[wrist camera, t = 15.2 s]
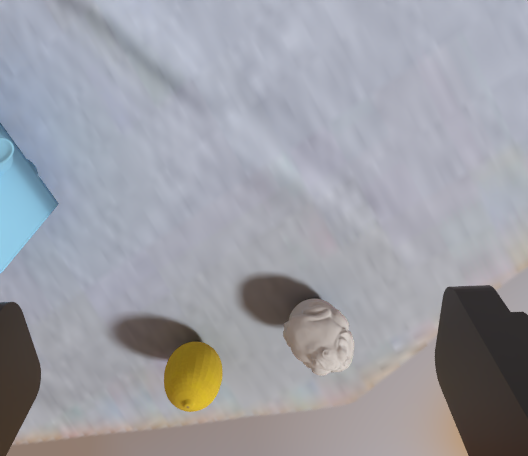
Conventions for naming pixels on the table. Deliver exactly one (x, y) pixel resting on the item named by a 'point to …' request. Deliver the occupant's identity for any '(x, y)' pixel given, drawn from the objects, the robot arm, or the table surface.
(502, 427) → the robot arm
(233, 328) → the table surface
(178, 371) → the lemon
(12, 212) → the teakettle
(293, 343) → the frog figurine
